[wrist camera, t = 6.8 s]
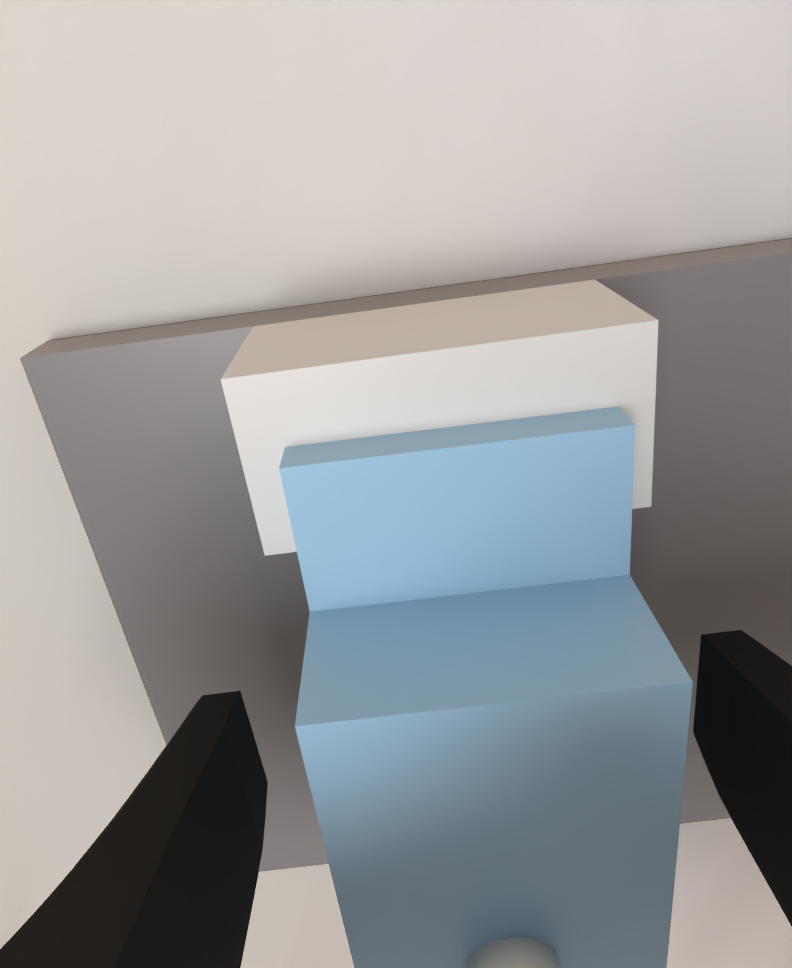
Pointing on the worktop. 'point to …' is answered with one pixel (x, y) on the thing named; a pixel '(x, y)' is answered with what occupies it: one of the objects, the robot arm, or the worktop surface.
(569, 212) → the worktop surface
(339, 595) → the block
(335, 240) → the worktop surface
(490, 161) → the worktop surface
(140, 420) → the plate
